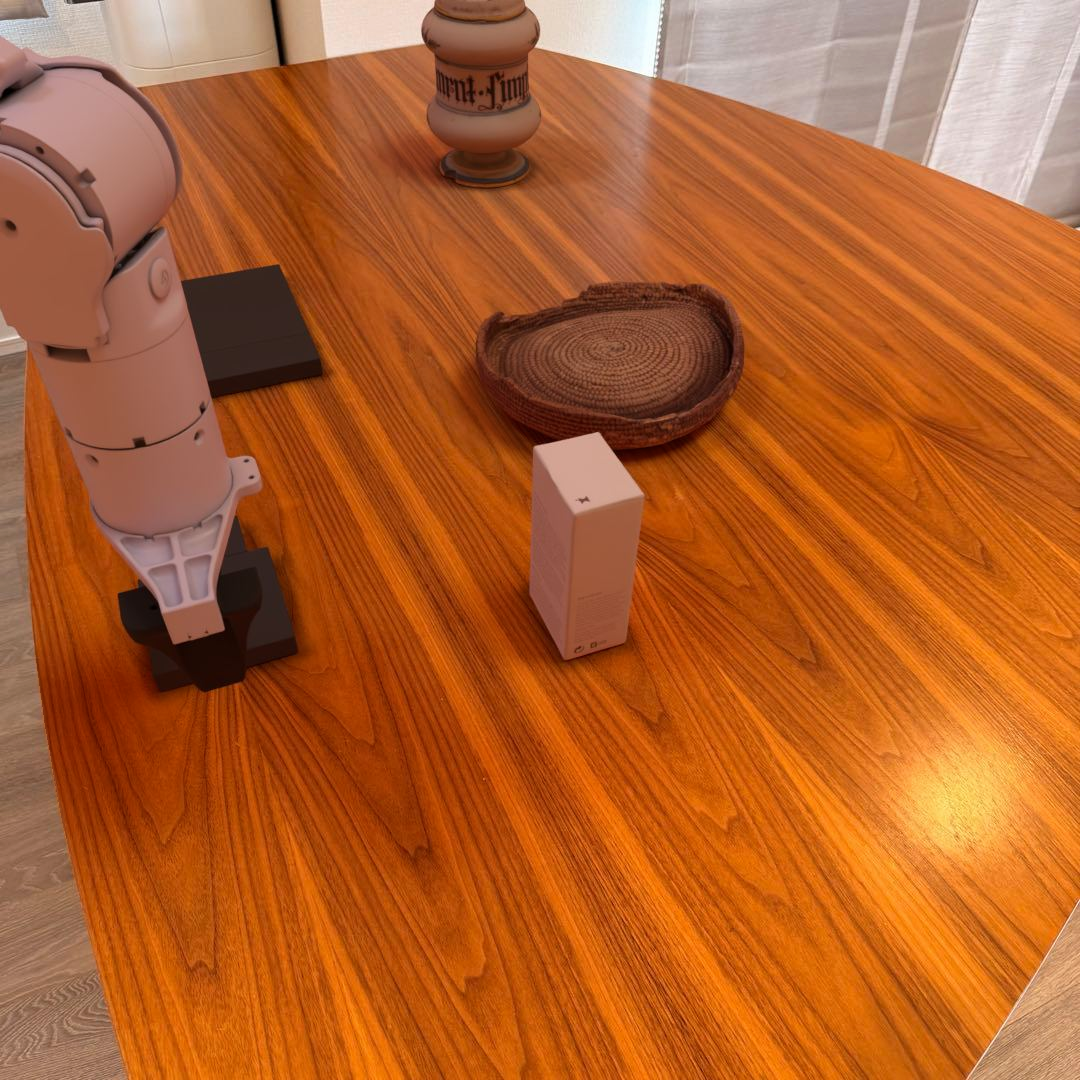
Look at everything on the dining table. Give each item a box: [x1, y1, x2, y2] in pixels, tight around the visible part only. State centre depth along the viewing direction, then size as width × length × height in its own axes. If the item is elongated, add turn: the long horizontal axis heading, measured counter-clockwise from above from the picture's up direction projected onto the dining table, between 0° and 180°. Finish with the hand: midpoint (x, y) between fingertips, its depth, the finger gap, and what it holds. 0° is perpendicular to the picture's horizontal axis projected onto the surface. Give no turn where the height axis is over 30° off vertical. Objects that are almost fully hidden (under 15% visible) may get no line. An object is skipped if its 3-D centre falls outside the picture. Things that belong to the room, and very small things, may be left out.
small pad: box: [137, 514, 299, 693], centre depth 60 cm, size 8×12×2 cm
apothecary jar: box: [420, 0, 542, 189], centre depth 100 cm, size 12×12×18 cm
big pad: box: [181, 263, 324, 399], centre depth 80 cm, size 16×16×2 cm
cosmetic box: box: [529, 432, 645, 661], centre depth 56 cm, size 6×4×12 cm
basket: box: [475, 280, 745, 451], centre depth 77 cm, size 22×20×5 cm
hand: (210, 627), depth 48 cm, fingers open, 6 cm apart
